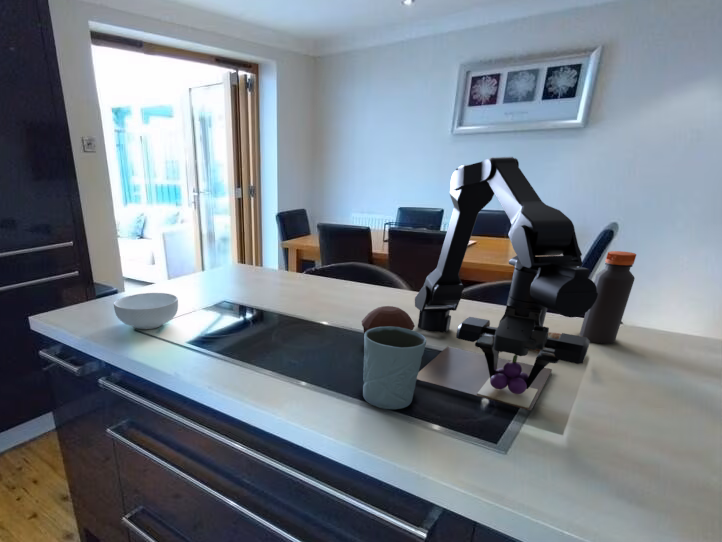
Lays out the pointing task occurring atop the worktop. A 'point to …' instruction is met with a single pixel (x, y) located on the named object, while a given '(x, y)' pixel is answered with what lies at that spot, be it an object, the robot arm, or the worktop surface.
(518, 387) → the grapes
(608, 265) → the bottle
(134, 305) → the cereal bowl
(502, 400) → the serving board
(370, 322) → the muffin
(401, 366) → the grey green cup
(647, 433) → the worktop surface
